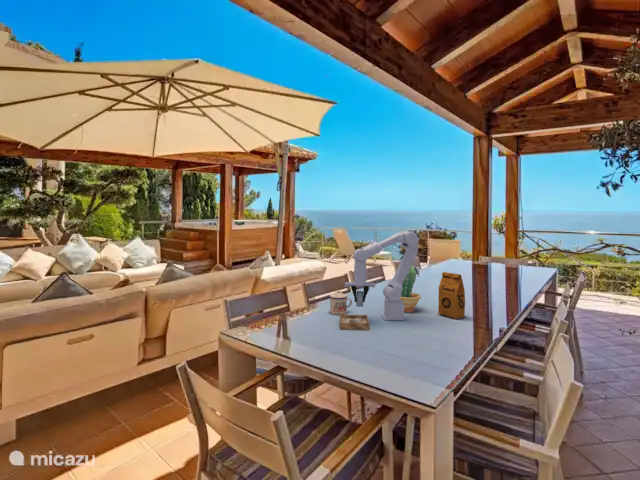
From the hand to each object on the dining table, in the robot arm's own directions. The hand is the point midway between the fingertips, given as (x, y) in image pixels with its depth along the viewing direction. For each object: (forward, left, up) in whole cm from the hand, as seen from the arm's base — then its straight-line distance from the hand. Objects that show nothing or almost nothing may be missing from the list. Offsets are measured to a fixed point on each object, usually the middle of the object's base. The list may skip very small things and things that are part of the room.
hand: (359, 301), depth 180 cm
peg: (0, 0, -2) cm, 2 cm away
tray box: (+3, +9, -9) cm, 13 cm away
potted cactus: (-26, -20, -9) cm, 34 cm away
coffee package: (-47, -9, -9) cm, 49 cm away
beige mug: (+9, -12, -9) cm, 18 cm away
